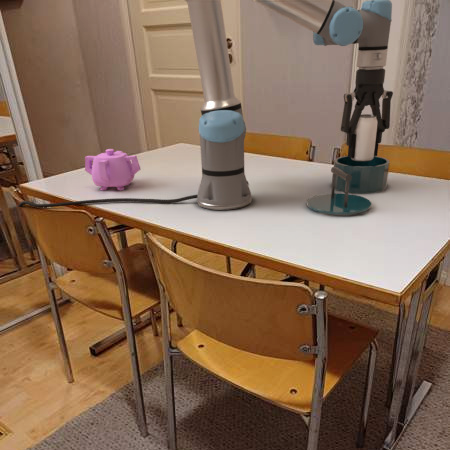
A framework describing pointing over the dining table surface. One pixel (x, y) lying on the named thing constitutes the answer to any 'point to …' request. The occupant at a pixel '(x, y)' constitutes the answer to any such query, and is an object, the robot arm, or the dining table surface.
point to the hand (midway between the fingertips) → (362, 156)
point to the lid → (339, 199)
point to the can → (365, 138)
